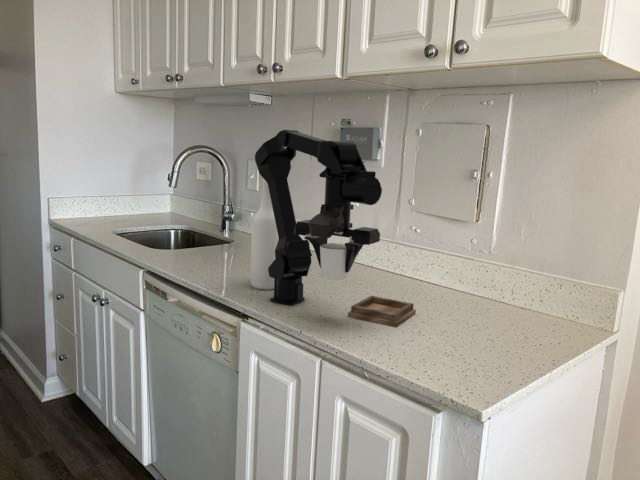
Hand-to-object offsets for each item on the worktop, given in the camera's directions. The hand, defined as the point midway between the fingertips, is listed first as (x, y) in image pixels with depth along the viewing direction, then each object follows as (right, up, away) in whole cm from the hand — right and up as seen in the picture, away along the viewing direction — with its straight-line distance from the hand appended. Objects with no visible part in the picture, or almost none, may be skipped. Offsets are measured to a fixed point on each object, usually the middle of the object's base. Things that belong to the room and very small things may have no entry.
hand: (334, 269), depth 118 cm
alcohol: (-18, -6, +27) cm, 33 cm away
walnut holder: (+11, -11, +7) cm, 17 cm away
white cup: (0, -2, 0) cm, 2 cm away
